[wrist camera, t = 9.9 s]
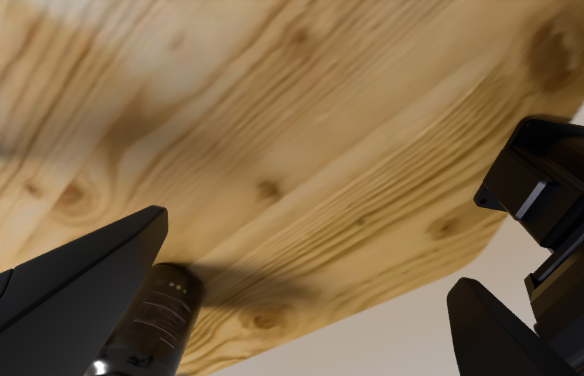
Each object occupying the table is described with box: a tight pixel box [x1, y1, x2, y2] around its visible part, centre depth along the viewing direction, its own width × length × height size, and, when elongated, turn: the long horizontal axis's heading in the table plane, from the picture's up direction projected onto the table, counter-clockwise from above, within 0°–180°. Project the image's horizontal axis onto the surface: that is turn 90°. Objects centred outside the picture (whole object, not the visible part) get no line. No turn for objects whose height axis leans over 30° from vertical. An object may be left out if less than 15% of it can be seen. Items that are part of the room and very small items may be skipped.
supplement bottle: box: [84, 264, 205, 376], centre depth 25 cm, size 7×7×12 cm
